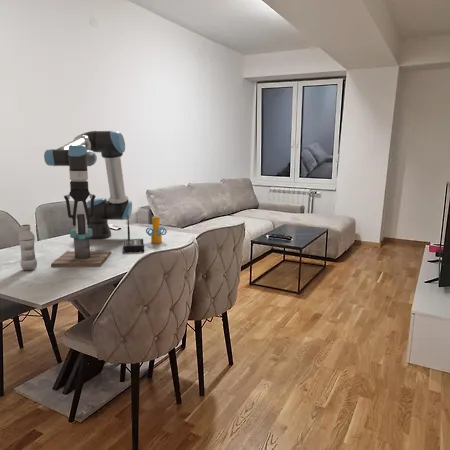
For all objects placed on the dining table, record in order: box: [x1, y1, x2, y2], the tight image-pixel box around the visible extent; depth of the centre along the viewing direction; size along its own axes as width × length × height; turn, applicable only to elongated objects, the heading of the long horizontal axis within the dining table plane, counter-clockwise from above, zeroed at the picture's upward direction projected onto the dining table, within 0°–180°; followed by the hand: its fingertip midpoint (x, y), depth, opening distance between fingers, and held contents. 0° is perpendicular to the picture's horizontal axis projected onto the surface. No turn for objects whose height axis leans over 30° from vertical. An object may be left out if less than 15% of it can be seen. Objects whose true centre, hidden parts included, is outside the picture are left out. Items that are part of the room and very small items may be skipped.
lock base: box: [50, 237, 112, 268], centre depth 188 cm, size 22×22×12 cm
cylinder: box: [145, 215, 168, 244], centre depth 225 cm, size 12×10×15 cm
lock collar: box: [69, 213, 92, 239], centre depth 182 cm, size 17×10×12 cm, turn 22°
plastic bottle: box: [18, 224, 38, 271], centre depth 171 cm, size 6×7×20 cm
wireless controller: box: [123, 215, 145, 254], centre depth 212 cm, size 20×14×17 cm
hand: (81, 232), depth 177 cm, fingers open, 3 cm apart
